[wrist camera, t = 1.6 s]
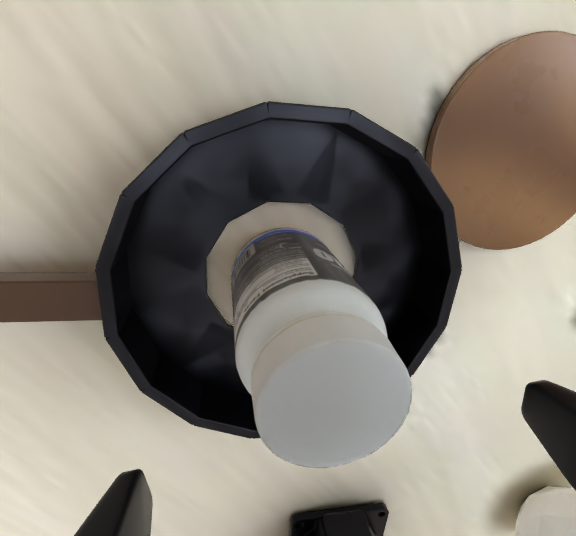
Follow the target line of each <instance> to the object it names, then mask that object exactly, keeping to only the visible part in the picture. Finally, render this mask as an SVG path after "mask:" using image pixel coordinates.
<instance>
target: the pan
mask: <svg viewBox="0 0 576 536" xmlns="http://www.w3.org/2000/svg"><path fill="white" fill-rule="evenodd" d="M266 202H293V203H311V204H313V205H314V206H316V207H317V208H319V209H320V210H322V211H323V212H325V213H326V214H328V215H329V216H331V217H332V218H334V219H335V220H337V221H338V222H340V223H341V224H343V227H344V229H345V231H346V234H347V236H348V238H349V241H350V243H351V245H352V248H353V250H354V252H355V255H356V257H357V258H356V265H355V271H354V278H353V279H354V280H355V282H356V283H357V284H358V285H359V286H360V287H361V288H362V289H363V290H364V291H365V293H366V294H367V295H368V296H369V297H370V298H371V300H372V301H373V302H374V304H375V305H376V307H377V308H378V310H379V311H380V313H381V315H382V318H383V320H384V323H385V326H386V331H387V337H388V339H389V341H390V343H391V344H392V346H393V348H394V349H395V351H396V353H397V354H398V355H399V357H400V358H401V360H402V362H403V363H404V365H405V366H406V368H407V370H408V373H409V376H410V377H411V376H412V375H413V374H414V373H415V371H416V370H417V368H418V367H419V366H420V364H421V363H422V361H423V360H424V358H425V357H426V355H427V354H428V353H429V351H430V350H431V348H432V347H433V345H434V344H435V342H436V341H437V340H438V338H439V337H440V335H441V334H442V332H443V331H444V329H445V328H446V326H447V322H448V319H449V315H450V311H451V308H452V304H453V300H454V297H455V293H456V289H457V286H458V282H459V278H460V274H461V271H462V269H461V268H462V265H461V257H460V250H459V242H458V234H457V226H456V218H455V211H454V207H453V204H452V202H451V201H450V199H449V197H448V196H447V194H446V193H445V191H444V190H443V188H442V187H441V185H440V183H439V182H438V180H437V179H436V177H435V176H434V174H433V172H432V171H431V169H430V168H429V166H428V165H427V163H426V161H425V160H424V158H423V157H422V155H421V154H420V152H419V150H418V149H416V147H414V146H413V145H411V144H409V143H408V142H406V141H404V140H403V139H401V138H399V137H398V136H396V135H394V134H393V133H391V132H389V131H388V130H386V129H384V128H383V127H381V126H379V125H378V124H376V123H374V122H373V121H371V120H369V119H368V118H366V117H364V116H363V115H361V114H359V113H358V112H356V111H354V110H351V109H349V108H338V107H326V106H315V105H304V104H293V103H281V102H270V101H269V102H263V103H260V104H258V105H255V106H252V107H249V108H246V109H244V110H241V111H238V112H235V113H233V114H230V115H227V116H224V117H222V118H219V119H216V120H213V121H211V122H208V123H205V124H202V125H200V126H197V127H194V128H191V129H188V130H186V131H184V132H183V133H181V134H180V135H179V136H178V137H177V138H176V139H174V140H173V141H172V142H171V143H170V144H169V145H168V146H167V147H166V148H165V149H164V150H163V151H162V152H161V153H160V154H159V155H158V156H157V157H156V158H155V159H154V160H153V161H152V162H151V163H150V164H149V165H148V166H147V167H146V168H145V169H144V170H143V171H142V172H141V173H140V174H139V175H138V176H137V177H136V178H135V179H134V180H133V181H132V182H131V183H130V184H129V185H128V186H127V187H126V188H125V189H124V190H123V191H122V194H121V195H120V197H119V200H118V202H117V205H116V208H115V211H114V214H113V217H112V220H111V223H110V226H109V228H108V231H107V234H106V237H105V240H104V243H103V246H102V249H101V252H100V255H99V257H98V260H97V263H96V269H95V271H96V272H0V322H39V321H81V320H102V322H103V329H104V336H105V337H106V341H107V342H108V344H109V345H110V347H111V348H112V349H113V351H114V352H115V354H116V355H117V357H118V358H119V360H120V361H121V363H122V364H123V366H124V367H125V369H126V370H127V372H128V373H129V375H130V376H131V378H132V379H133V381H134V382H135V384H136V385H137V387H138V388H139V390H140V391H142V393H144V394H145V395H147V396H148V397H150V398H151V399H153V400H154V401H156V402H157V403H159V404H161V405H162V406H164V407H165V408H167V409H168V410H170V411H171V412H173V413H175V414H176V415H178V416H179V417H181V418H182V419H184V420H185V421H187V422H188V423H190V424H192V425H193V424H194V426H198V427H202V428H206V429H211V430H215V431H220V432H224V433H229V434H233V435H237V436H242V437H246V438H253V439H254V438H261V437H260V435H259V433H258V430H257V427H256V423H255V418H254V409H253V402H252V396H251V394H250V393H249V392H248V391H247V389H246V388H245V386H244V384H243V382H242V380H241V378H240V376H239V373H238V370H237V367H236V360H235V340H234V328H233V327H231V326H229V325H227V324H226V322H225V321H224V319H223V318H222V316H221V315H220V313H219V312H218V310H217V309H216V307H215V306H214V305H213V303H212V302H211V300H210V299H209V297H208V296H207V277H206V257H207V256H208V254H209V252H210V251H211V249H212V248H213V246H214V244H215V243H216V241H217V240H218V238H219V236H220V235H221V233H222V231H223V230H224V228H225V227H226V225H227V223H228V222H230V221H232V220H233V219H235V218H237V217H239V216H241V215H243V214H245V213H247V212H249V211H251V210H252V209H254V208H256V207H258V206H260V205H262V204H264V203H266Z"/></svg>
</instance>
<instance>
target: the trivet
mask: <svg viewBox="0 0 576 536" xmlns="http://www.w3.org/2000/svg"><path fill="white" fill-rule="evenodd" d="M425 161H426V163H427V165H428V166H429V168H430V169H431V171H432V172H433V174H434V176H435V177H436V179H437V180H438V182H439V183H440V185H441V187H442V188H443V190H444V191H445V193H446V194H447V196H448V197H449V199H450V201H451V202H452V204H453V207H454V211H455V218H456V226H457V234H458V238H459V239H461V240H463V241H465V242H467V243H469V244H471V245H474V246H476V247H480V248H484V249H493V250H502V249H511V248H517V247H521V246H524V245H527V244H530V243H532V242H535V241H537V240H539V239H541V238H543V237H545V236H546V235H548V234H550V233H552V232H553V231H554V230H556V229H557V228H559V227H560V226H561V225H563V224H564V223H565V222H566V221H567V220H568V219H570V218H571V217H572V216H573V215H574V214H575V213H576V35H575V34H570V33H566V32H561V31H544V32H536V33H532V34H529V35H525V36H522V37H518V38H515V39H512V40H510V41H508V42H506V43H503V44H501V45H500V46H498V47H496V48H495V49H493V50H491V51H490V52H488V53H487V54H486V55H484V56H483V57H482V58H481V59H479V60H478V61H477V62H475V63H474V64H473V65H472V66H471V67H470V68H469V69H468V70H467V71H466V72H465V73H464V75H463V76H462V77H461V78H460V79H459V81H458V82H457V83H456V84H455V86H454V87H453V88H452V90H451V92H450V93H449V95H448V96H447V98H446V99H445V101H444V103H443V105H442V107H441V109H440V111H439V113H438V115H437V117H436V120H435V122H434V125H433V128H432V130H431V134H430V138H429V142H428V146H427V152H426V159H425Z"/></svg>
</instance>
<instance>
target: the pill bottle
mask: <svg viewBox="0 0 576 536" xmlns="http://www.w3.org/2000/svg"><path fill="white" fill-rule="evenodd" d="M231 285H232V303H233V317H234V340H235V360H236V367H237V370H238V373H239V376H240V378H241V380H242V382H243V384H244V386H245V388H246V389H247V391H248V392H249V393H250V394H251V396H252V402H253V409H254V418H255V423H256V427H257V430H258V433H259V435H260V437H261V439H262V441H263V442H264V444H265V445H266V446H267V447H268V448H269V449H270V450H271V451H272V452H273V453H274V454H275V455H277V456H278V457H280V458H282V459H283V460H285V461H288V462H290V463H293V464H296V465H299V466H304V467H312V468H327V467H332V466H339V465H344V464H348V463H351V462H354V461H356V460H359V459H361V458H364V457H366V456H367V455H369V454H371V453H373V452H374V451H376V450H378V449H379V448H380V447H381V446H383V445H384V444H385V443H386V442H387V441H388V440H389V439H390V438H391V437H393V436H394V434H395V433H396V432H397V431H398V429H399V428H400V427H401V425H402V424H403V422H404V420H405V418H406V416H407V414H408V411H409V408H410V404H411V398H412V384H411V380H410V376H409V373H408V370H407V368H406V366H405V365H404V363H403V362H402V360H401V358H400V357H399V355H398V354H397V353H396V351H395V349H394V348H393V346H392V344H391V343H390V341H389V339H388V337H387V331H386V326H385V323H384V320H383V318H382V315H381V313H380V311H379V310H378V308H377V307H376V305H375V304H374V302H373V301H372V300H371V298H370V297H369V296H368V295H367V294H366V293H365V291H364V290H363V289H362V288H361V287H360V286H359V285H358V284H357V283H356V282H355V280H354V279H353V277H351V276H350V274H349V273H348V272H347V271H346V270H345V268H344V267H343V266H342V264H341V263H340V262H339V261H338V260H337V259H336V258H335V256H334V255H333V254H332V253H331V252H330V251H329V249H328V248H327V247H326V246H325V245H324V244H323V243H322V242H321V241H320V240H319V239H318V238H316V237H315V236H314V235H312V234H310V233H308V232H305V231H303V230H299V229H294V228H278V229H273V230H270V231H267V232H265V233H262V234H260V235H258V236H257V237H255V238H254V239H252V240H251V241H250V242H248V243H247V244H246V245H245V247H244V248H243V249H242V250H241V252H240V253H239V255H238V257H237V259H236V261H235V263H234V267H233V270H232V282H231Z"/></svg>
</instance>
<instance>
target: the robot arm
mask: <svg viewBox="0 0 576 536" xmlns="http://www.w3.org/2000/svg"><path fill="white" fill-rule="evenodd" d="M521 410H522V415H523V417H524V419H525V421H526V422H527V423H528V425H529V426H530V428H531V429H532V431H533V432H534V434H535V435H536V436H537V438H538V439H539V441H540V442H541V444H542V445H543V446H544V448H545V449H546V451H547V452H548V454H549V455H550V456H551V458H552V459H553V461H554V462H555V464H556V465H557V467H558V468H559V469H560V471H561V472H562V474H563V475H564V476H565V478H566V479H567V480H568V482H569V483H570V484H571V486H572V487H573V488H574V489H575V491H576V392H574V391H572V390H569V389H567V388H564V387H562V386H559V385H557V384H554V383H552V382H549V381H546V380H540V381H536V382H531V383H529V384H527V386H526V388H525V393H524V397H523V402H522V407H521ZM388 514H389V512H388V509H387V507H386V505H385V504H384V503H378V504H370V505H362V506H354V507H347V508H339V509H331V510H323V511H316V512H308V513H300V514H296V515H294V516H292V517H291V519H290V526H289V535H288V536H383V533H384V529H385V525H386V521H387V517H388ZM151 520H152V495H151V492H150V489H149V486H148V484H147V481H146V478H145V476H144V473H143V471H142V470H140V469H136V470H131V471H127V472H123V473H121V474H120V475H119V476H118V477H117V478H116V479H115V481H114V482H113V483H112V485H111V486H110V488H109V489H108V490H107V492H106V493H105V494H104V496H103V497H102V498H101V500H100V501H99V502H98V504H97V505H96V506H95V508H94V509H93V511H92V512H91V513H90V515H89V516H88V517H87V519H86V520H85V521H84V523H83V524H82V525H81V527H80V528H79V530H78V531H77V532H76V534H75V535H74V536H150V534H151Z"/></svg>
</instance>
